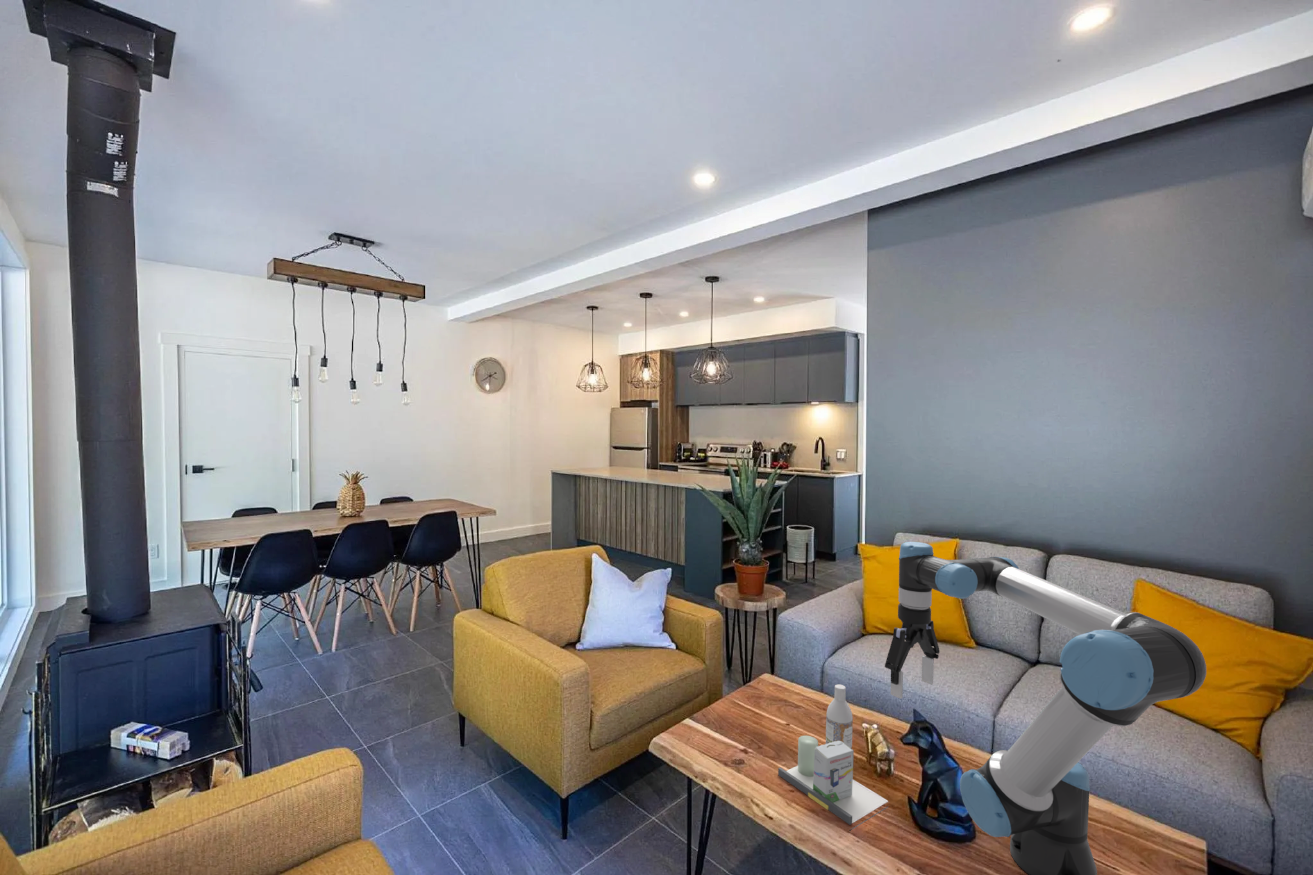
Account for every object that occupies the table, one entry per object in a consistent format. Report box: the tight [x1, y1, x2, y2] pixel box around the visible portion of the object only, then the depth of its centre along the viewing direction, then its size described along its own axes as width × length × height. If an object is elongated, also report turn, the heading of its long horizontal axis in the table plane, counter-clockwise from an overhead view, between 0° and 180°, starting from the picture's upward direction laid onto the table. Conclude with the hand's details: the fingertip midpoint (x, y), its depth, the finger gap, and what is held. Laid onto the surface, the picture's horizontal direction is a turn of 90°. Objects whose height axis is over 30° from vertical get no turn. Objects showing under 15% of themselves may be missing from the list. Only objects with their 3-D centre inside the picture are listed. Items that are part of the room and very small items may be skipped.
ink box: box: [813, 741, 855, 803], centre depth 140 cm, size 9×5×12 cm, turn 116°
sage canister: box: [797, 735, 819, 777], centre depth 150 cm, size 5×5×8 cm
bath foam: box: [825, 684, 854, 750], centre depth 159 cm, size 7×7×20 cm
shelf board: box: [777, 765, 889, 832], centre depth 143 cm, size 22×15×3 cm
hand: (912, 689), depth 143 cm, fingers open, 13 cm apart
